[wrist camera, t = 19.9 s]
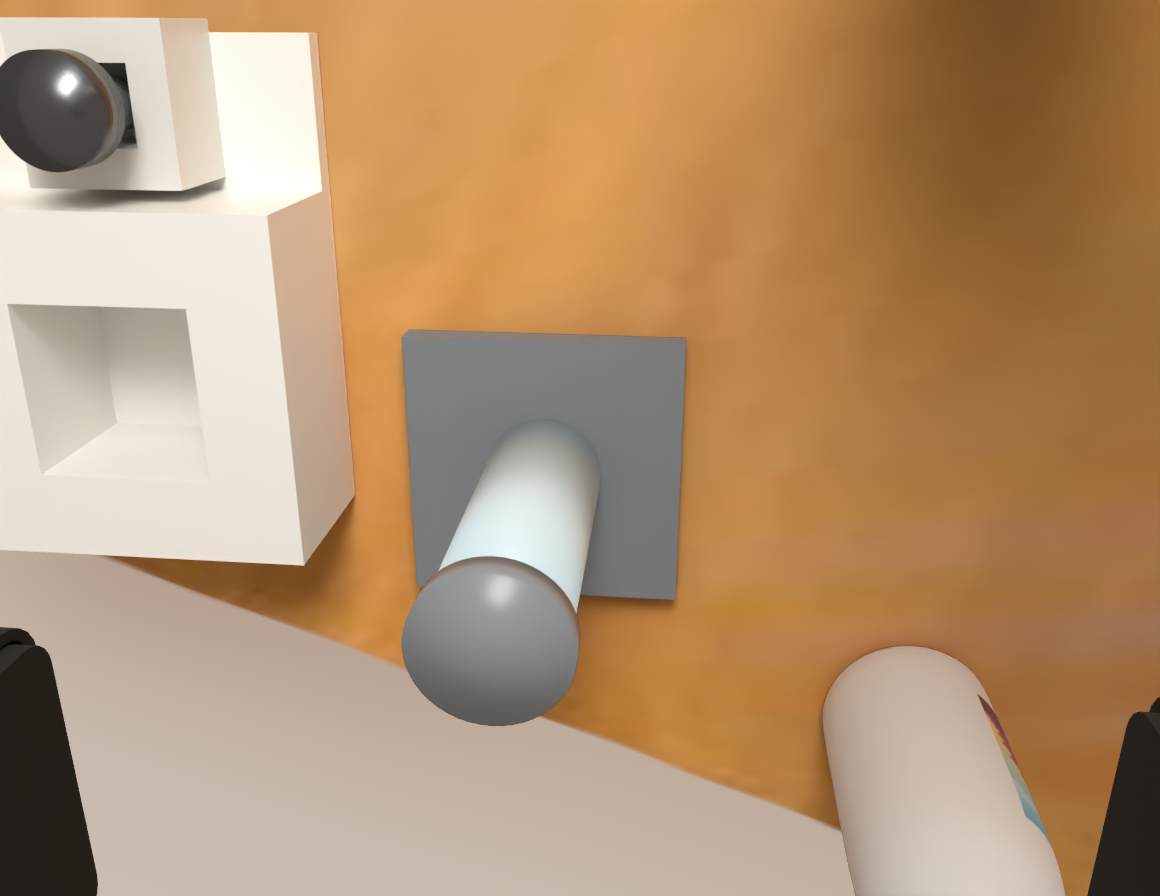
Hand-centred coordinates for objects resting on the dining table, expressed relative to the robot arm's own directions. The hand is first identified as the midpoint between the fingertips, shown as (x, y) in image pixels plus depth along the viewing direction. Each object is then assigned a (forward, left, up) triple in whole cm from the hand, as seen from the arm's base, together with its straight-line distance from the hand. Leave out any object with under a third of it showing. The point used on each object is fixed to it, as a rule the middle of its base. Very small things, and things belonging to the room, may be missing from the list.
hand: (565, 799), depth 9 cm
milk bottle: (+24, +12, -36) cm, 45 cm away
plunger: (-4, -21, -35) cm, 41 cm away
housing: (+4, -21, -36) cm, 42 cm away
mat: (+12, -5, -36) cm, 39 cm away
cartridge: (+12, -5, -35) cm, 37 cm away
